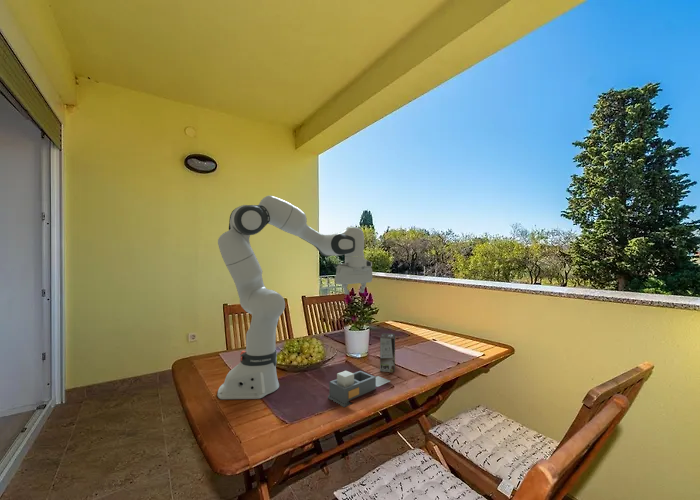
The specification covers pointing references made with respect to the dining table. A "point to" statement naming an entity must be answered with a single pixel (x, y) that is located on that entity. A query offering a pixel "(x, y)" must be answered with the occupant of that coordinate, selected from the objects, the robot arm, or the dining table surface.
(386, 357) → the coffee box
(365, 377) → the slot rack
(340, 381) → the peg
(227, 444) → the dining table surface
